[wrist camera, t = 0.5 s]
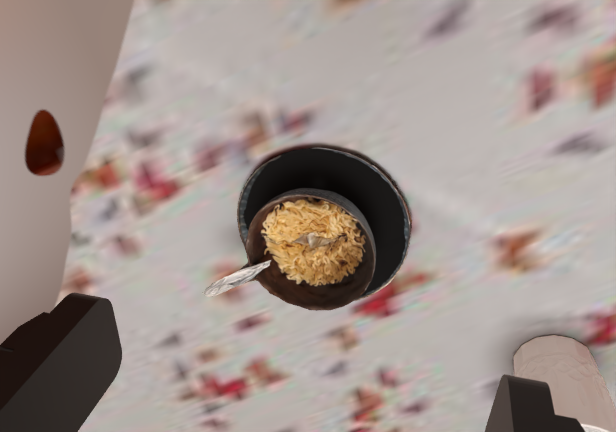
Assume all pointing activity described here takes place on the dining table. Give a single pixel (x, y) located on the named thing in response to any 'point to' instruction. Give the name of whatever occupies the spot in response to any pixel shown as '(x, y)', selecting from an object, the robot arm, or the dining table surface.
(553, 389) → the white cup
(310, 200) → the soup bowl
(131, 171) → the dining table surface
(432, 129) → the dining table surface
